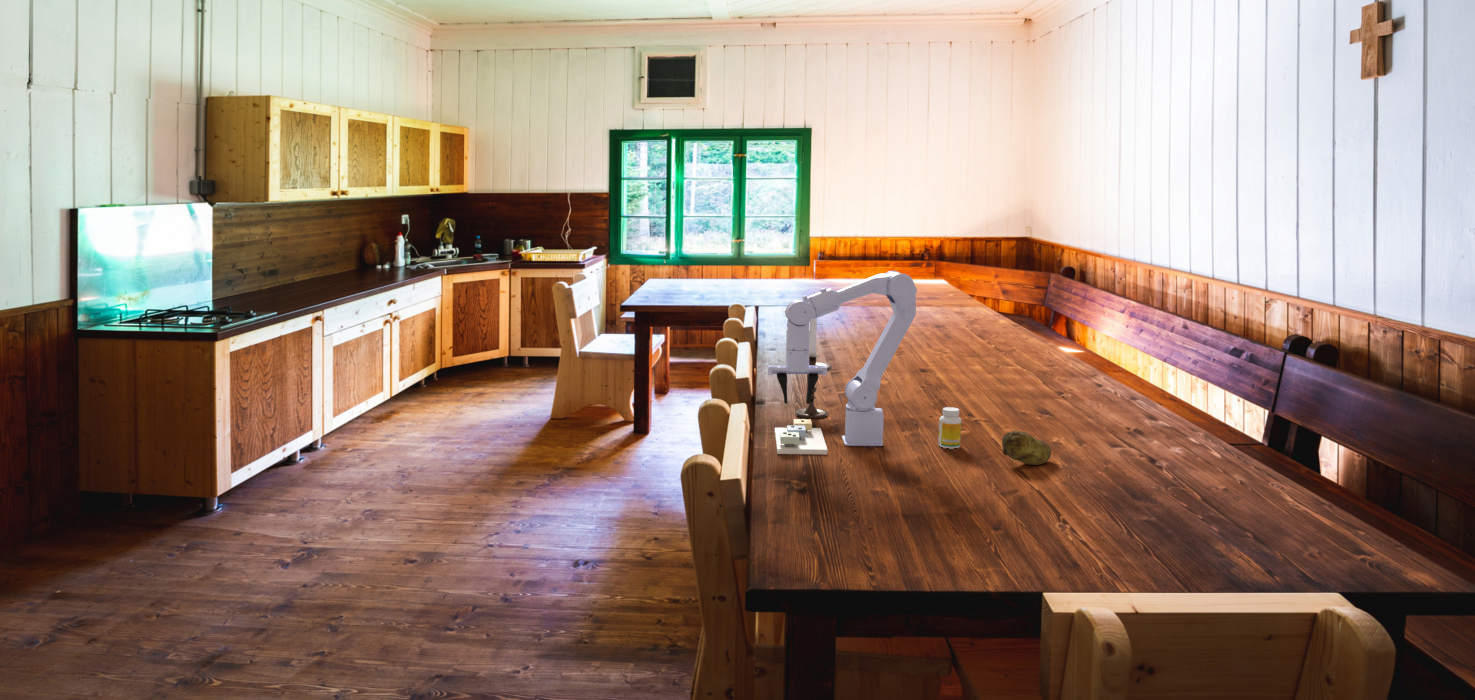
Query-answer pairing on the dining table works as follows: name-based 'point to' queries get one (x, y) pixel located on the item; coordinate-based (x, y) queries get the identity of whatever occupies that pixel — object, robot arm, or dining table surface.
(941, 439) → the supplement bottle
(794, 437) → the tile three
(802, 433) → the tile two
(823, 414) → the candlestick
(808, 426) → the tile one
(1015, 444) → the potato
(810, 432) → the panel
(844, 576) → the dining table surface
